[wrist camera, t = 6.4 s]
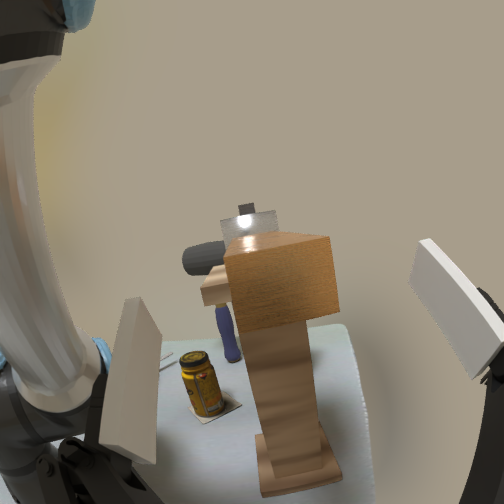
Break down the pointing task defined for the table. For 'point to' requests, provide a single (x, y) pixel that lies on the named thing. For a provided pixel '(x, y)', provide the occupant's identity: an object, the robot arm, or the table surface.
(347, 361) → the table surface
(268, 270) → the wooden handle
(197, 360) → the condiment
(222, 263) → the rubber mallet
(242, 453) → the table surface
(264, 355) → the walnut stand
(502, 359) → the robot arm
